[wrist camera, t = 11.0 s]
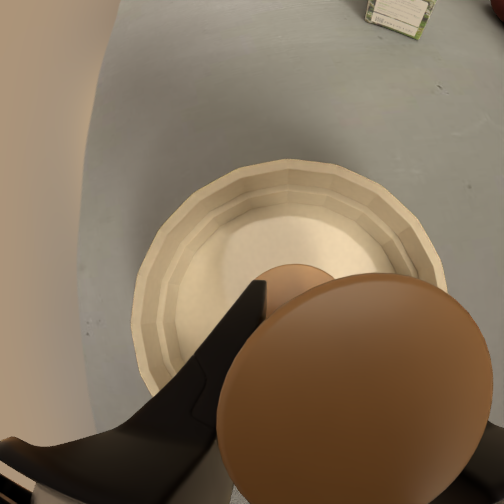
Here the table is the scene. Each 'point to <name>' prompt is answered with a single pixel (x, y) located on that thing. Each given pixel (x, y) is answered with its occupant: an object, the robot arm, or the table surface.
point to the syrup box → (400, 15)
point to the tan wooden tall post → (354, 391)
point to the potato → (498, 8)
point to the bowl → (264, 249)
